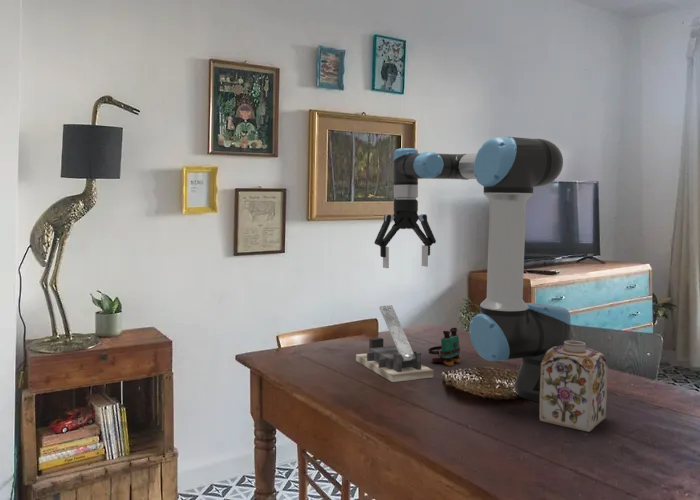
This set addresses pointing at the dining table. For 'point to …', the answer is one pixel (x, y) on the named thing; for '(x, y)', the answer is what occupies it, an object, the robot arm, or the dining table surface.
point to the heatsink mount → (393, 363)
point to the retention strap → (397, 333)
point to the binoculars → (448, 348)
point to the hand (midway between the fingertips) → (405, 267)
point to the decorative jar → (573, 386)
